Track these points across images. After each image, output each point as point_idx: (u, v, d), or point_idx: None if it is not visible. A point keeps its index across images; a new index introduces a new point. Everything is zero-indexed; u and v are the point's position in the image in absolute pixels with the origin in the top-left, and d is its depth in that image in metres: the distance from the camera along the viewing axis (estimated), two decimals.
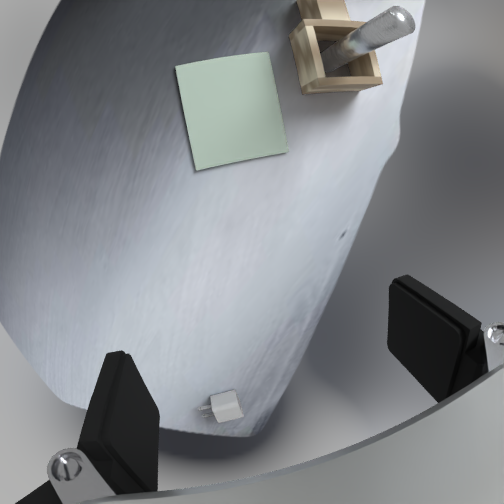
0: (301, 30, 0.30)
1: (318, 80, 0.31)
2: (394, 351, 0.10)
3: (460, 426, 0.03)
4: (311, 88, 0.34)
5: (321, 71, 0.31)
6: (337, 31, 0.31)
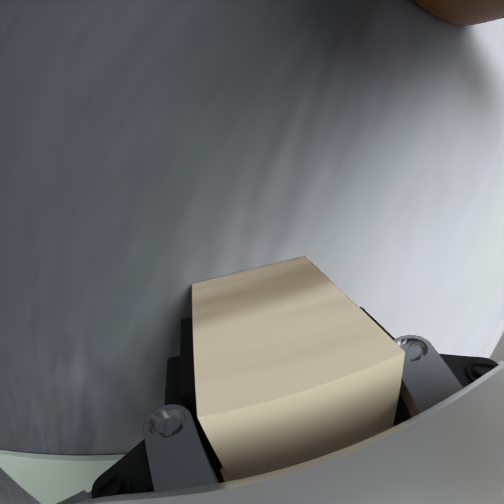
0: None
1: None
2: None
3: (460, 425, 0.03)
4: None
5: None
6: None
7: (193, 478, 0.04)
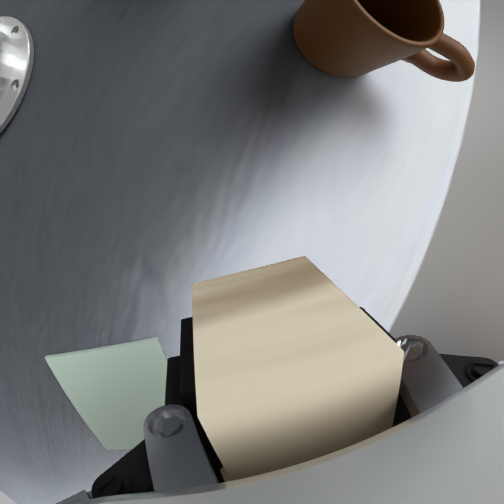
0: None
1: None
2: None
3: (460, 425, 0.03)
4: None
5: None
6: None
7: (193, 478, 0.04)
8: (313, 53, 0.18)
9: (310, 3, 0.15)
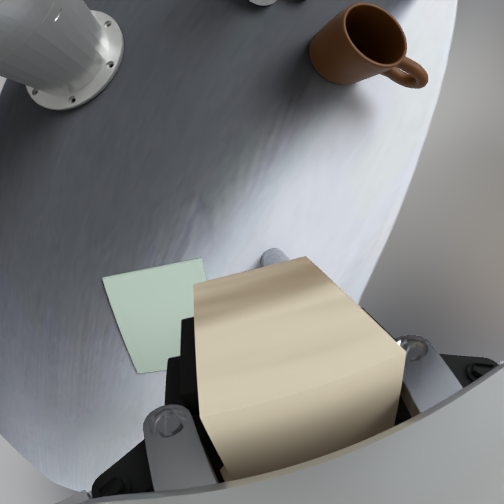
0: None
1: None
2: None
3: (460, 426, 0.03)
4: None
5: None
6: None
7: (193, 478, 0.04)
8: (321, 68, 0.29)
9: (322, 36, 0.25)
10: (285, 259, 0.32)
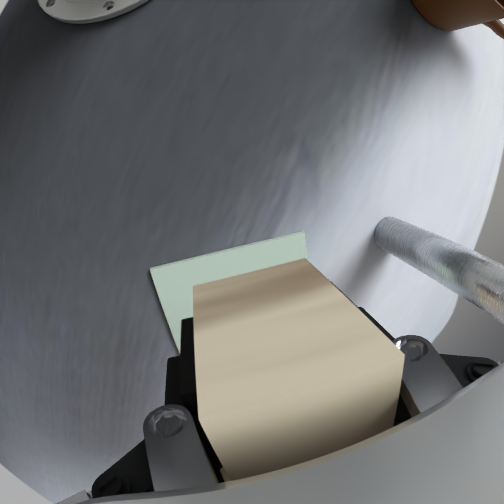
0: None
1: None
2: None
3: (460, 425, 0.03)
4: None
5: None
6: None
7: (193, 478, 0.04)
8: (429, 6, 0.18)
9: None
10: (420, 228, 0.21)
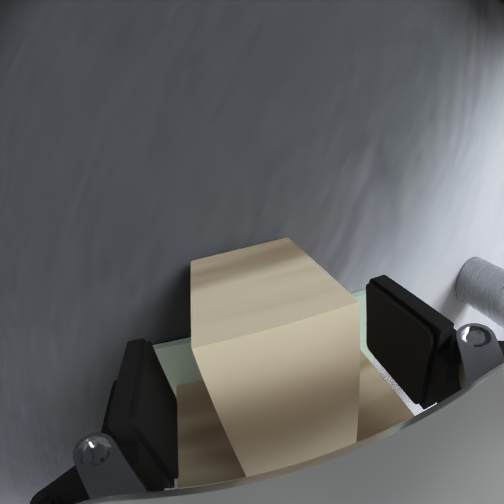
0: None
1: None
2: (373, 350, 0.11)
3: (460, 425, 0.03)
4: None
5: None
6: None
7: None
8: None
9: None
10: None
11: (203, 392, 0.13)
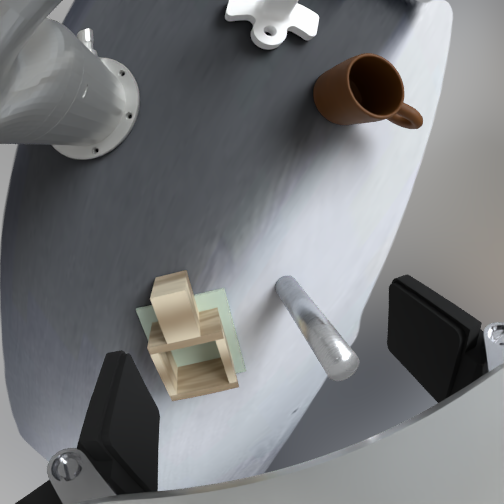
0: None
1: (171, 397, 0.36)
2: (394, 351, 0.10)
3: (460, 426, 0.03)
4: None
5: (172, 391, 0.36)
6: None
7: None
8: (325, 112, 0.33)
9: (326, 85, 0.30)
10: (297, 288, 0.37)
11: None
